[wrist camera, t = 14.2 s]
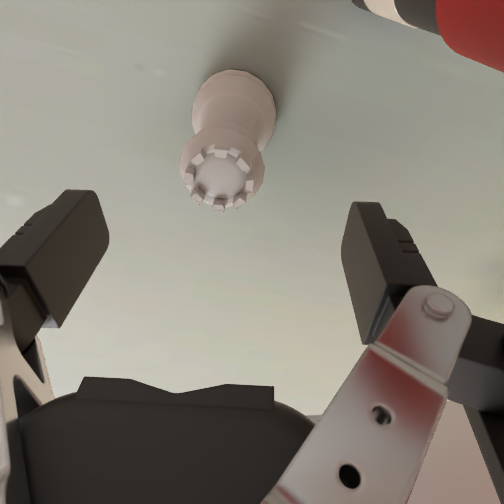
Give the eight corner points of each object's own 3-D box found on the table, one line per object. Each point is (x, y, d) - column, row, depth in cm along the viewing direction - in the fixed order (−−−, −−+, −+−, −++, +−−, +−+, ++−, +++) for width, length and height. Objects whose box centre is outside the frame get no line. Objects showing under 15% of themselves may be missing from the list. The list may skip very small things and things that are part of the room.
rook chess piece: (252, 49, 16) (244, 93, 10) (289, 131, 19) (300, 206, 13) (178, 93, 18) (130, 156, 12) (221, 164, 20) (201, 247, 14)
